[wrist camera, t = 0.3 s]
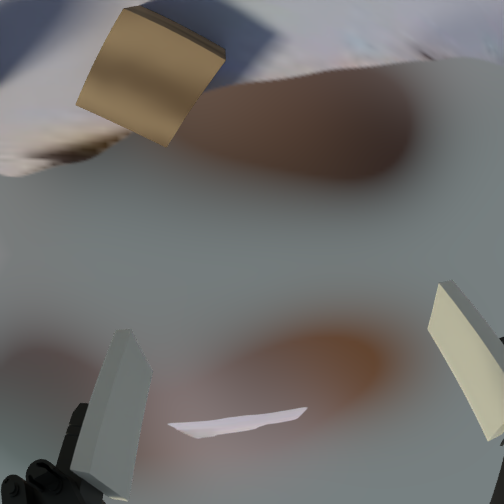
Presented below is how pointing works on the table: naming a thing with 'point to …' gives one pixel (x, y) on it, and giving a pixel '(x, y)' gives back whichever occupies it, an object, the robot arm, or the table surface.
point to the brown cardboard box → (149, 74)
